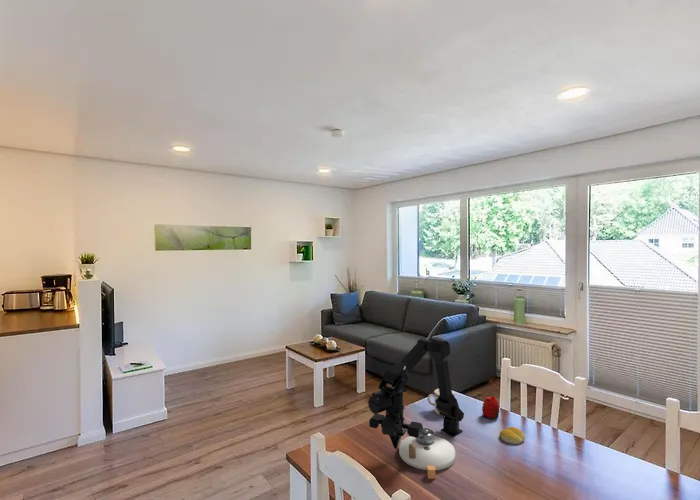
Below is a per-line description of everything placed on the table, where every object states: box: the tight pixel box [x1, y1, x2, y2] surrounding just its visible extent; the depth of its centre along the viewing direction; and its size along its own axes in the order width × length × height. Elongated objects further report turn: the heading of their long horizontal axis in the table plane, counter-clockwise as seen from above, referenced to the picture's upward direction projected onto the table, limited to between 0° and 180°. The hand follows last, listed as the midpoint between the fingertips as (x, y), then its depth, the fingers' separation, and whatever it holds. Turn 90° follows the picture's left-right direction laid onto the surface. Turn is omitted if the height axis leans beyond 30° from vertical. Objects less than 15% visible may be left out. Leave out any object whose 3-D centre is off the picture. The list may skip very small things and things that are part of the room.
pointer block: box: [426, 465, 437, 480], centre depth 124 cm, size 2×2×3 cm
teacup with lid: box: [427, 388, 455, 416], centre depth 171 cm, size 12×9×12 cm
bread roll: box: [499, 426, 526, 445], centre depth 146 cm, size 8×9×4 cm
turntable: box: [398, 435, 456, 471], centre depth 136 cm, size 20×20×6 cm
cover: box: [416, 427, 435, 445], centre depth 142 cm, size 7×7×4 cm
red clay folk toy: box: [481, 384, 500, 420], centre depth 165 cm, size 8×7×15 cm
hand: (395, 448), depth 134 cm, fingers closed
